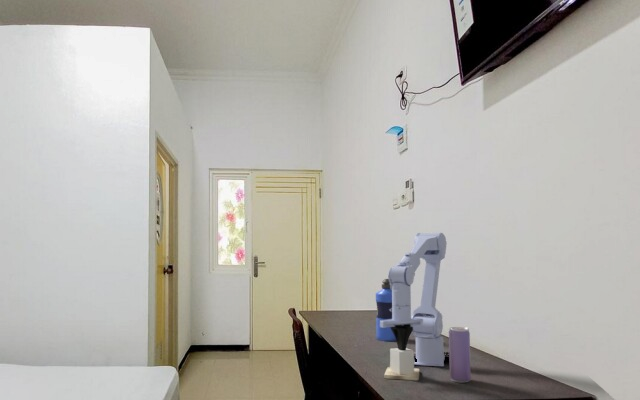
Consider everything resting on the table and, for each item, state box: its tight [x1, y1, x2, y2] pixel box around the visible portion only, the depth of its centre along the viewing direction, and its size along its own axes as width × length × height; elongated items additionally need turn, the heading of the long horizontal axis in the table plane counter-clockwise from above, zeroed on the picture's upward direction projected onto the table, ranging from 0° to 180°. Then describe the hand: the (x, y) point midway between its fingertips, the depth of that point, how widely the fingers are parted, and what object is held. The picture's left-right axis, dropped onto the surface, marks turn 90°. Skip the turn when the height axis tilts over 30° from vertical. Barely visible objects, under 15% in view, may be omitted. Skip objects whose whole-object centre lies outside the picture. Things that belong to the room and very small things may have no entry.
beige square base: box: [383, 366, 420, 381], centre depth 152 cm, size 10×10×6 cm
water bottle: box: [375, 278, 397, 342], centre depth 210 cm, size 9×9×25 cm
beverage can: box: [448, 326, 472, 384], centre depth 147 cm, size 6×6×15 cm
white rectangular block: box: [389, 347, 415, 375], centre depth 153 cm, size 5×5×7 cm
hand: (401, 350), depth 153 cm, fingers closed, pressing on white rectangular block
